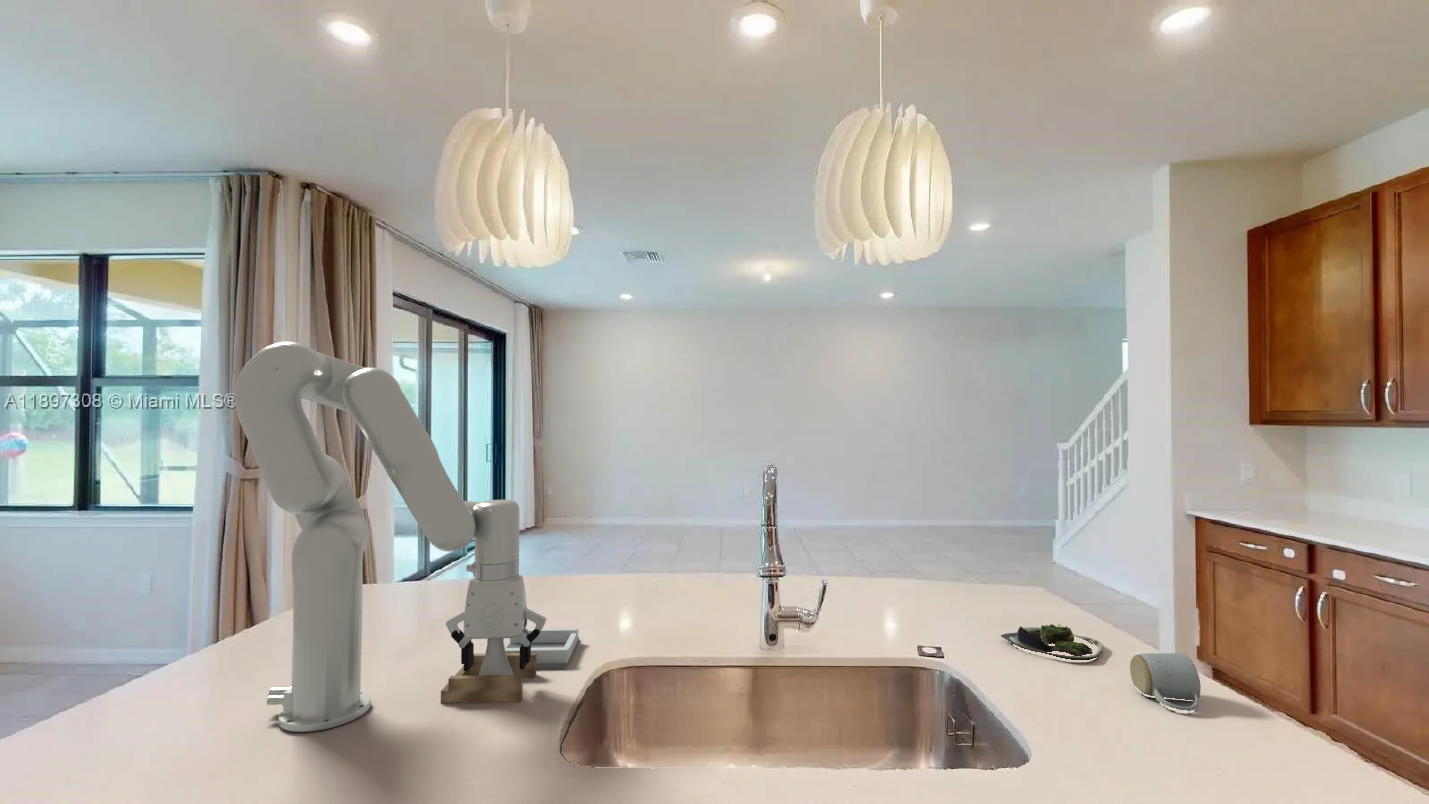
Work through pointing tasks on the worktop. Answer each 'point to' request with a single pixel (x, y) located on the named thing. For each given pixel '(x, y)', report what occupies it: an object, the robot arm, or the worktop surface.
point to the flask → (495, 659)
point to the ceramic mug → (1166, 677)
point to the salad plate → (1053, 641)
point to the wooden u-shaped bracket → (488, 682)
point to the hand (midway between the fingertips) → (496, 667)
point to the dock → (550, 647)
